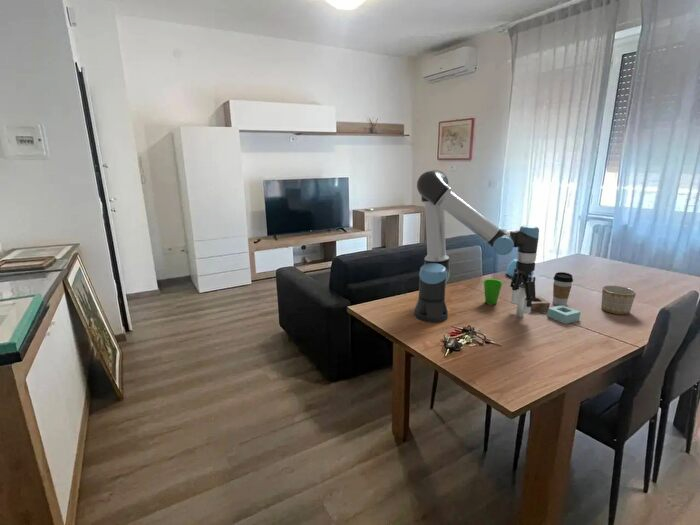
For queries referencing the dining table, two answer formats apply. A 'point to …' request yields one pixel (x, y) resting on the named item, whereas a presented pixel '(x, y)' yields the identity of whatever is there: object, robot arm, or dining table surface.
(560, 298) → the coffee cup
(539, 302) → the brown square wooden ring
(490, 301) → the cup
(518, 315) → the pale grey rod
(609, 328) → the dining table surface
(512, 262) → the sugar bowl
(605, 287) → the planter
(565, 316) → the teal square ring
